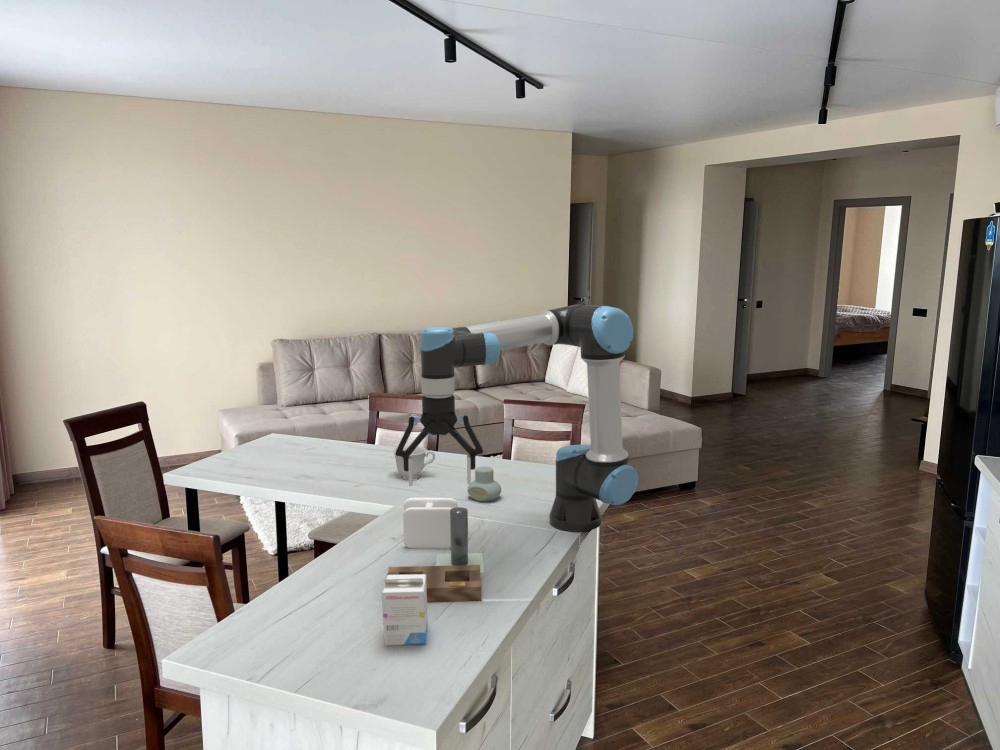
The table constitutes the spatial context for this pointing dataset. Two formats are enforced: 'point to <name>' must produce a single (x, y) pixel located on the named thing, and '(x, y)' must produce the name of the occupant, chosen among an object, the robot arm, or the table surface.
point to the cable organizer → (427, 522)
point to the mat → (472, 560)
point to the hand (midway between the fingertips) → (440, 483)
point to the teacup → (413, 461)
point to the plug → (459, 536)
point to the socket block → (447, 582)
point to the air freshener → (484, 485)
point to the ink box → (405, 609)
